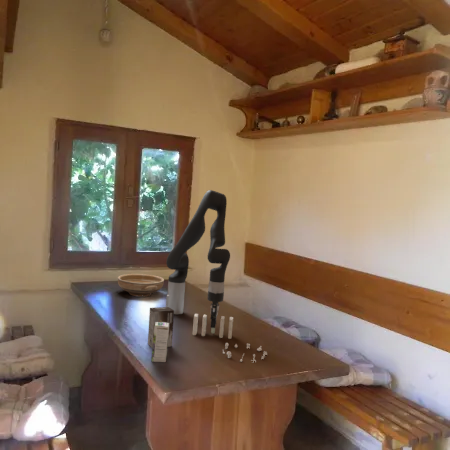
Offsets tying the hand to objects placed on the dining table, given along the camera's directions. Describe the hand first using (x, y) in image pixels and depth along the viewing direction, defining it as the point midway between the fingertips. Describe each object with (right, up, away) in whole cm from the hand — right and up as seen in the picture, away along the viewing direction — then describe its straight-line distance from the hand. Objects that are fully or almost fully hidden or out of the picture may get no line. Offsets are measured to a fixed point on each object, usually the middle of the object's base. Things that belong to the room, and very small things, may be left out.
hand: (213, 325), depth 228 cm
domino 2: (-5, -4, +1) cm, 6 cm away
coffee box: (-23, -4, -20) cm, 31 cm away
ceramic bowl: (-47, +5, +71) cm, 86 cm away
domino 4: (+4, -5, 0) cm, 6 cm away
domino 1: (-9, -4, +1) cm, 10 cm away
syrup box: (-21, -6, -37) cm, 43 cm away
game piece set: (+14, -8, -22) cm, 27 cm away
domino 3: (0, -3, 0) cm, 3 cm away
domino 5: (+8, -5, 0) cm, 10 cm away
